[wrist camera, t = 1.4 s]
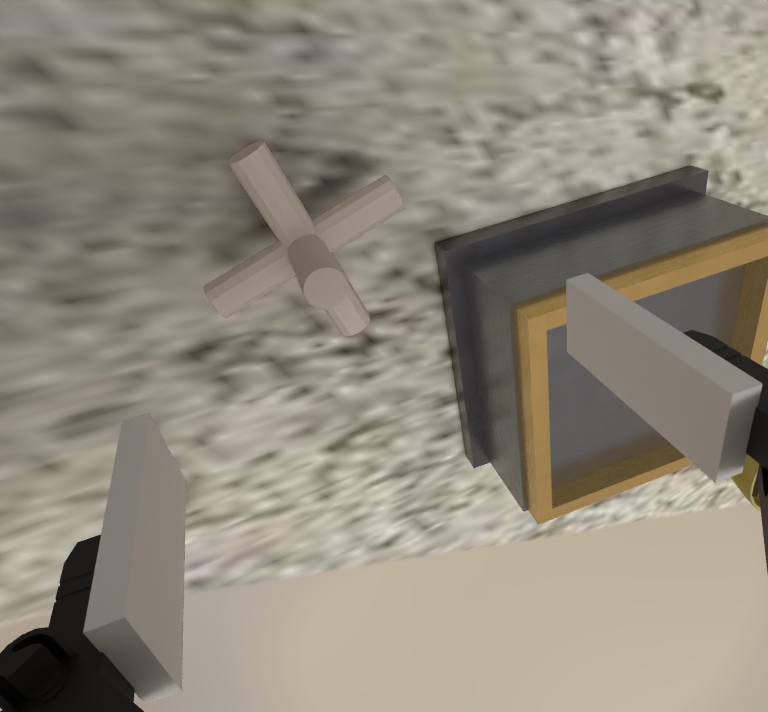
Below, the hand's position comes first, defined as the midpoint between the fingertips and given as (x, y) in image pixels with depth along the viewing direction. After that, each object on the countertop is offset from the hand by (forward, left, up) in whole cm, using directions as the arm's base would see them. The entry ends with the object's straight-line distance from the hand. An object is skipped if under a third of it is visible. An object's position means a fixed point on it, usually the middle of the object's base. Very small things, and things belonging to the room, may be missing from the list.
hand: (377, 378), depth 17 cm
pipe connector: (0, 0, -17) cm, 17 cm away
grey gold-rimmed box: (+13, +19, -17) cm, 28 cm away
